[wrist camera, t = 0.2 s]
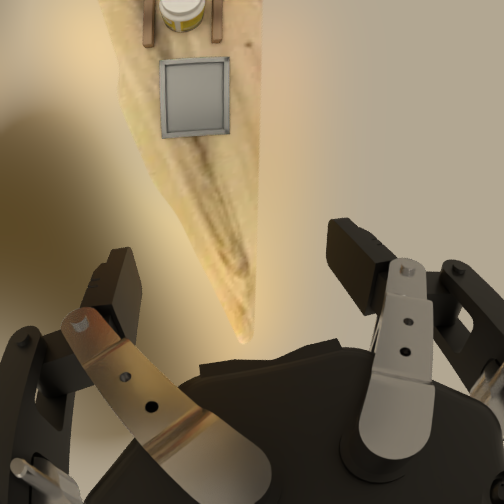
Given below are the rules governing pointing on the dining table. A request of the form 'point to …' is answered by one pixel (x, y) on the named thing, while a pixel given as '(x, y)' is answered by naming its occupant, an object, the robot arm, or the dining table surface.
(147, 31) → the slot rails
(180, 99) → the tray
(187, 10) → the supplement bottle
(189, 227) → the dining table surface
